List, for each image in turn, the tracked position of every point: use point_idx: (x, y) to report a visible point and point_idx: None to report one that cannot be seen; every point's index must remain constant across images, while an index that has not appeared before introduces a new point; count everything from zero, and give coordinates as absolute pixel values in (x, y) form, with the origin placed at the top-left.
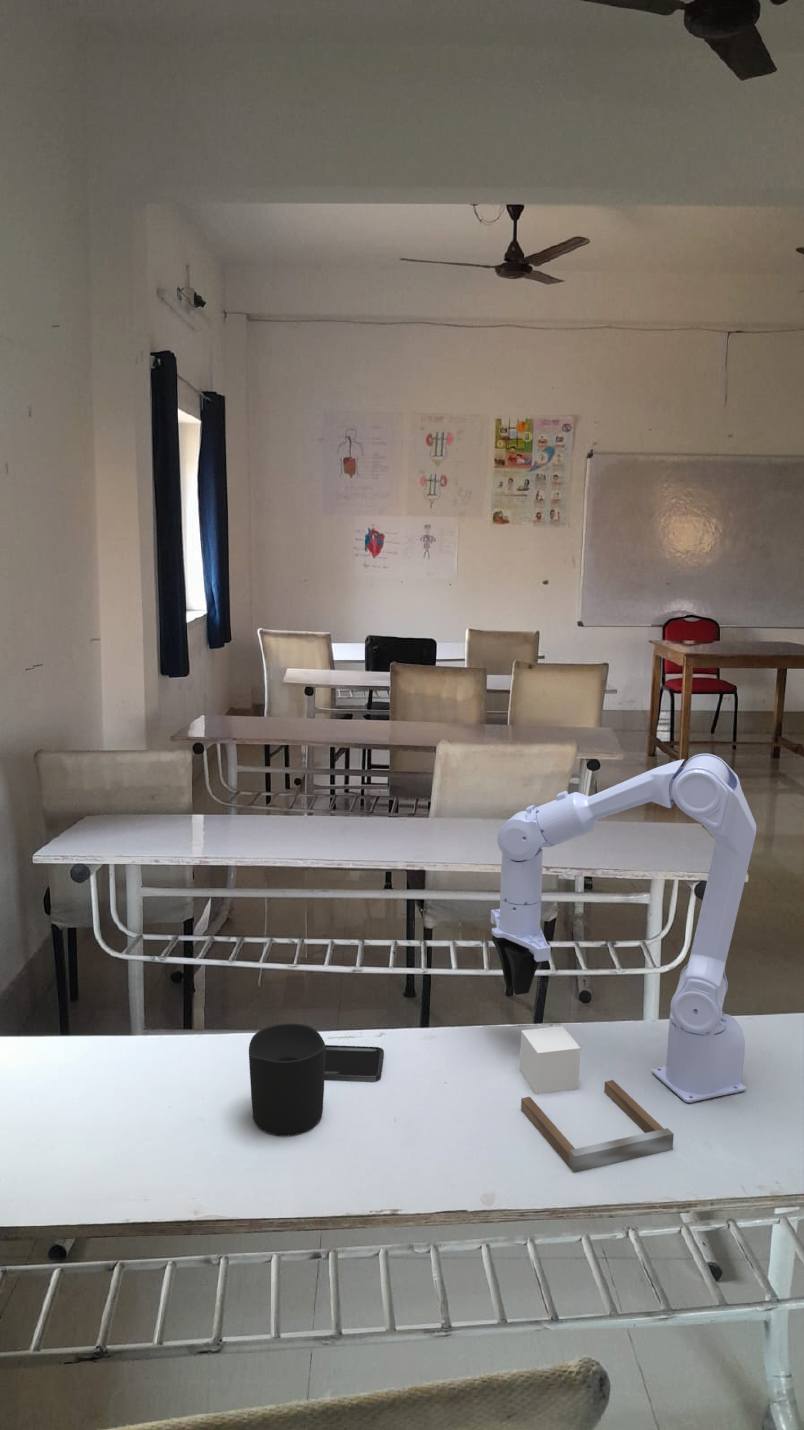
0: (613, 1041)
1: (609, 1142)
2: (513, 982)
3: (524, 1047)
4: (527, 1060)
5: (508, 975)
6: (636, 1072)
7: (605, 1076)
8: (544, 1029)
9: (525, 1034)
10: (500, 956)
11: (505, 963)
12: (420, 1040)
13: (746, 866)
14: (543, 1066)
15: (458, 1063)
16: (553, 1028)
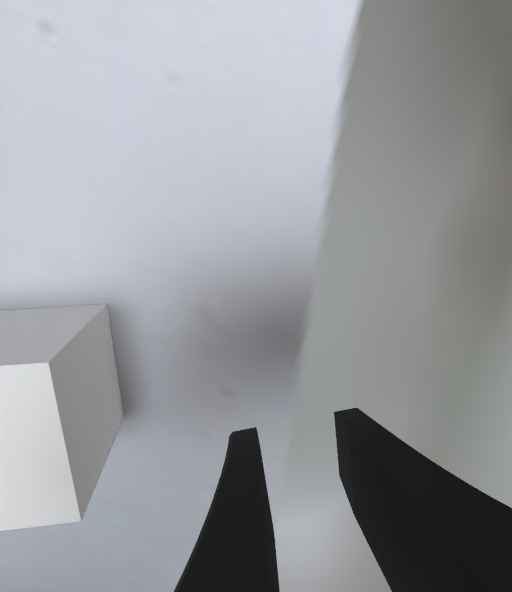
0: None
1: None
2: (237, 474)
3: (29, 342)
4: (9, 331)
5: (363, 462)
6: (76, 568)
7: None
8: (55, 454)
9: (11, 370)
10: (505, 537)
11: (420, 520)
12: (343, 21)
13: None
14: None
15: (169, 119)
16: (62, 487)
